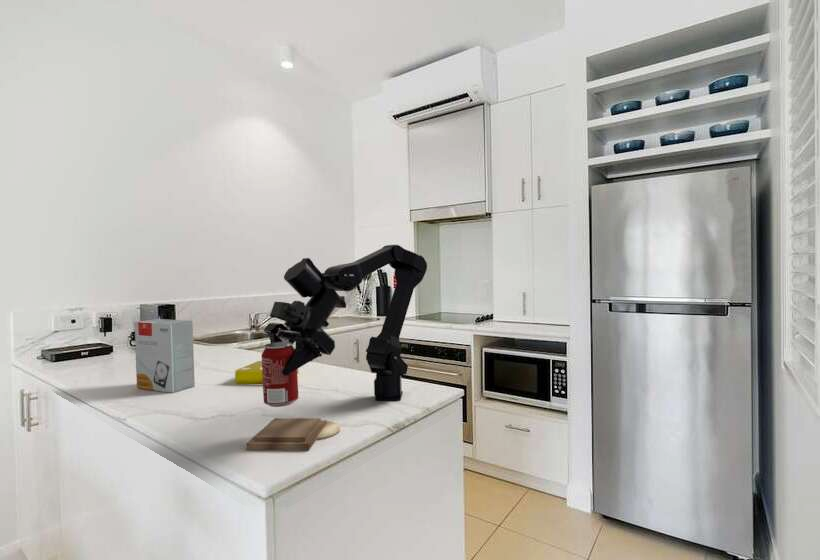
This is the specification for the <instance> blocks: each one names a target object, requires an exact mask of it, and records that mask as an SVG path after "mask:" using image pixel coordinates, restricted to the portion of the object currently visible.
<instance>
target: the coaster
mask: <svg viewBox="0 0 820 560" xmlns="http://www.w3.org/2000/svg"><path fill="white" fill-rule="evenodd" d="M339 432H341V425H340V424H339V423H338V422H335V421H332V420H331V421H330V420H327V424H326V425H325V427H324V428H323V429H322V431H321V432H320V433H319V435H318V436H317V437H316V438H317V440H316V441H319V440H326V439H329V438H332V437H334V436H336V435H337V434H338V433H339Z"/></svg>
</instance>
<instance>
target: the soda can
mask: <svg viewBox="0 0 820 560" xmlns="http://www.w3.org/2000/svg"><path fill="white" fill-rule="evenodd" d="M293 345H294V343H292V342H276V343H271V342H269V343H267V344H265V345H264V350H263V351H262V353H261V361H262V376H263V385H262V390H263V395H262V396H263V397H262V398H263V404H265V405H267V406H269V407H271V408H273V407H274V408H281V407H286V406H290V405H292V404H294V403H295V402H296V401H297V400H298V399H299V381H298V380H299V379H298V375H297V369H296V370H295V371H293V372H292V373H290V374H288V375H287V376H285V375H283V374H282V371H283V369H284V367H285V365H286V363H287V362H288V360H289V358H290V357H291V355H292V353H293V351H294V350H295V348H294V347H293Z"/></svg>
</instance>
